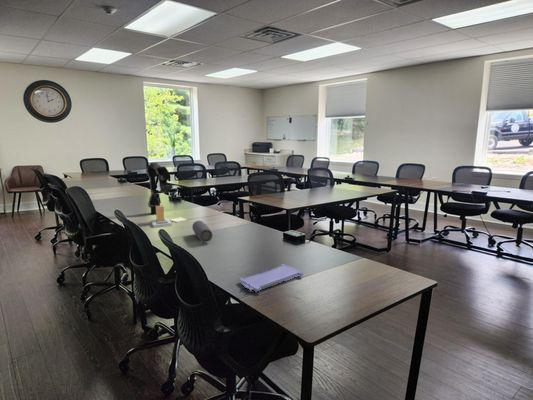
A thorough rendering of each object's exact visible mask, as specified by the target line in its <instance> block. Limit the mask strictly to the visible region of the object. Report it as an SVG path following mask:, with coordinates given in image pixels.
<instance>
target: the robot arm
mask: <svg viewBox="0 0 533 400" xmlns="http://www.w3.org/2000/svg"><path fill="white" fill-rule="evenodd" d="M145 172H146V175H147V176H148V178H149V186H150V187H149V188H150V195H149V199H148V203H147V205H148V207H149V208H150V213H149V215H156V206H161V203H162V201H161V197H160V194H164V193H165V194H166V193H170V195H169V196H170V200H171V201H170V202H171V203H172V202H174V196H175V194H176V193H177V192H178V189H177V188H174V187H173V184H172V183H170V184H168V181H169V180H170V179H171V174H170V172H169V170H168V169H167V167H166V166H164V165H163V166H161V165H159V164H158V163H157V162H150V163H149V165H147V166H146V167H145ZM157 175H158V177H157ZM156 177H157V178H158V183H159V185H158V186H159V189H157V184H156Z"/></svg>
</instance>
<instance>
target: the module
mask: <svg viewBox="0 0 533 400" xmlns="http://www.w3.org/2000/svg"><path fill="white" fill-rule="evenodd" d="M164 208H165V207H164V205H160V206H156V214H155V216H156V218H155V219H157V222H160V221H164V218H165V209H164Z"/></svg>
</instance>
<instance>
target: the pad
mask: <svg viewBox="0 0 533 400" xmlns="http://www.w3.org/2000/svg"><path fill="white" fill-rule="evenodd" d="M169 220H170V221H171V222H173V221H174V223H182V222H185V221H188V219H187V218H184V217H180V216H179V217H175V218H169Z"/></svg>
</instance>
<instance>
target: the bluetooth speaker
mask: <svg viewBox="0 0 533 400" xmlns="http://www.w3.org/2000/svg"><path fill="white" fill-rule="evenodd" d="M191 228H192V231H193V233H194V234H195V236H196V237H197V239H199V240H200V241H202V243H208V242H210V241H211V240H212V238H213V231H212V230H211V229H210V228H209V226H208V225H207V224H206V223H205V222H204V221H201V220H196V221H194V222H193V224H192V227H191Z"/></svg>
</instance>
